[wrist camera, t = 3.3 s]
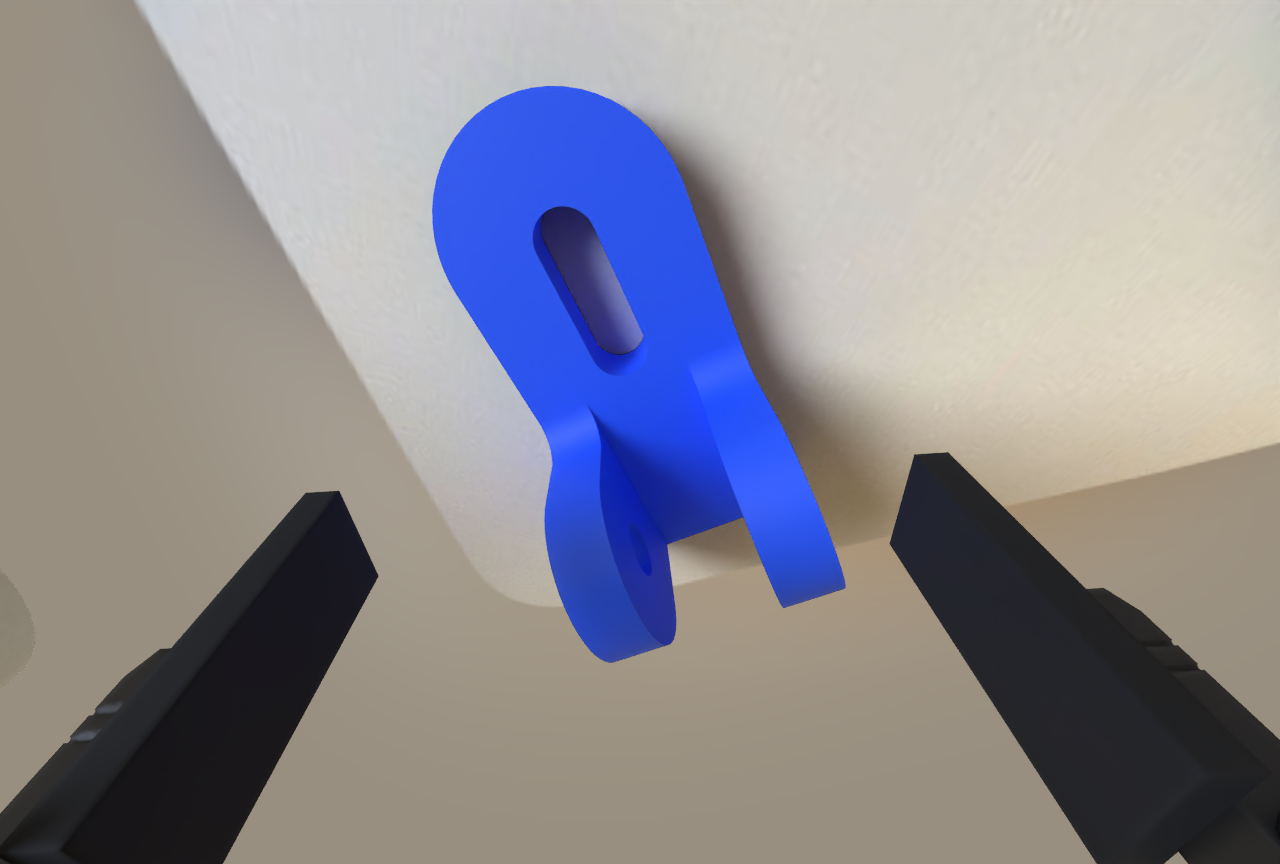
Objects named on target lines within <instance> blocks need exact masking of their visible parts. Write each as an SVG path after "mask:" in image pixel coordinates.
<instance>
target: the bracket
mask: <svg viewBox="0 0 1280 864" xmlns="http://www.w3.org/2000/svg"><path fill="white" fill-rule="evenodd" d="M559 206H566V207H571V208H574V209H576V210H578V211H580V212H582V213H583V214H584V215H585V216H586V217H587V218H588V219H589V220H590V222H591V223H592V225H593V227H594V229H595V231H596V233H597V236H598V238H599V240H600V242H601V244H602V246H603V248H604V251H605V253H606V255H607V257H608V259H609V261H610V264H611V266H612V268H613V270H614V272H615V274H616V277H617V279H618V281H619V283H620V285H621V287H622V290H623V292H624V294H625V296H626V298H627V300H628V303H629V305H630V307H631V309H632V311H633V313H634V315H635V318H636V320H637V322H638V324H639V326H640V328H641V331H642V333H643V335H644V337H643V340H642V342H641V343H640V345H639V346H638V347H637V348H636V349H635V350H633V351H631V352H629V353H627V354H622V355H616V354H611V353H608V352H606V351H604V350H603V349H602V348H601V347H600V346H599V345H598V344H597V343H596V341H595V339H594V337H593V335H592V333H591V331H590V329H589V327H588V325H587V324H586V322H585V320H584V318H583V316H582V314H581V312H580V310H579V308H578V306H577V304H576V302H575V301H574V299H573V297H572V295H571V293H570V291H569V289H568V287H567V285H566V283H565V281H564V279H563V277H562V276H561V274H560V272H559V270H558V268H557V266H556V264H555V262H554V260H553V258H552V256H551V254H550V252H549V251H548V249H547V247H546V245H545V243H544V241H543V238H542V235H541V219H542V216H543V214H544V212H546V211H547V210H549V209H551V208H554V207H559ZM432 214H433V230H434V238H435V243H436V247H437V251H438V255H439V258H440V261H441V264H442V267H443V269H444V272H445V274H446V276H447V278H448V280H449V282H450V284H451V286H452V287H453V289H454V291H455V293H456V294H457V296H458V297H459V299H460V301H461V302H462V304H463V305H464V307H465V308H466V310H467V311H468V313H469V315H470V316H471V318H472V319H473V321H474V322H475V324H476V325H477V327H478V329H479V330H480V332H481V333H482V335H483V336H484V338H485V339H486V341H487V343H488V344H489V346H490V347H491V349H492V350H493V352H494V353H495V355H496V356H497V358H498V360H499V361H500V363H501V364H502V366H503V367H504V369H505V370H506V372H507V374H508V375H509V377H510V378H511V380H512V381H513V383H514V384H515V386H516V388H517V389H518V391H519V392H520V394H521V395H522V397H523V398H524V400H525V401H526V403H527V405H528V406H529V408H530V409H531V411H532V412H533V414H534V415H535V417H536V419H537V420H538V422H539V423H540V425H541V427H542V429H543V430H544V433H545V435H546V437H547V440H548V442H549V445H550V449H551V453H552V461H553V466H552V472H551V478H550V483H549V489H548V494H547V500H546V506H545V535H546V543H547V550H548V555H549V560H550V565H551V569H552V573H553V576H554V580H555V583H556V586H557V589H558V592H559V595H560V597H561V600H562V602H563V605H564V607H565V609H566V612H567V614H568V616H569V618H570V620H571V622H572V624H573V626H574V628H575V629H576V631H577V633H578V635H579V636H580V637H581V639H582V640H583V642H584V643H585V645H586V646H587V647H588V648H589V649H590V651H591V652H592V653H593V654H594V655H596V656H597V657H598V658H600V659H601V660H603V661H606V662H609V663H613V662H616V661H619V660H622V659H626V658H629V657H632V656H635V655H638V654H641V653H644V652H647V651H650V650H654V649H656V648H660V647H663V646H666V645H669V644H671V643H672V641H673V640H674V636H675V632H676V610H675V601H674V594H673V586H672V578H671V571H670V563H669V555H668V547H667V544H669V543H672V542H675V541H678V540H680V539H683V538H686V537H689V536H692V535H694V534H697V533H700V532H703V531H706V530H709V529H711V528H714V527H717V526H720V525H723V524H725V523H728V522H731V521H734V520H737V519H739V518H742V517H744V519H745V522H746V524H747V527H748V529H749V532H750V534H751V537H752V539H753V542H754V544H755V547H756V549H757V552H758V554H759V556H760V559H761V561H762V564H763V566H764V568H765V571H766V573H767V575H768V578H769V580H770V582H771V584H772V587H773V589H774V591H775V593H776V596H777V598H778V600H779V602H780V604H781V606H782V607H783V608H786V607H788V606H792V605H795V604H798V603H801V602H804V601H807V600H811V599H814V598H817V597H820V596H823V595H826V594H830V593H832V592H836V591H839V590H842V589H845V580H844V576H843V573H842V569H841V566H840V563H839V560H838V557H837V554H836V551H835V548H834V546H833V543H832V540H831V537H830V535H829V532H828V530H827V527H826V524H825V522H824V519H823V517H822V514H821V512H820V509H819V507H818V504H817V502H816V500H815V497H814V495H813V492H812V490H811V488H810V485H809V483H808V481H807V478H806V476H805V474H804V472H803V469H802V467H801V465H800V463H799V461H798V458H797V456H796V454H795V452H794V450H793V448H792V445H791V443H790V441H789V439H788V437H787V435H786V433H785V431H784V429H783V427H782V425H781V423H780V421H779V419H778V418H777V416H776V414H775V412H774V410H773V409H772V407H771V405H770V403H769V402H768V400H767V398H766V396H765V395H764V393H763V391H762V389H761V388H760V386H759V384H758V382H757V380H756V378H755V376H754V374H753V372H752V370H751V367H750V365H749V363H748V360H747V358H746V355H745V353H744V350H743V348H742V345H741V343H740V340H739V337H738V334H737V331H736V329H735V326H734V323H733V320H732V317H731V315H730V312H729V309H728V306H727V303H726V301H725V298H724V295H723V292H722V289H721V287H720V284H719V281H718V278H717V275H716V273H715V270H714V267H713V264H712V261H711V259H710V256H709V253H708V250H707V247H706V245H705V242H704V239H703V236H702V233H701V231H700V228H699V225H698V222H697V219H696V217H695V214H694V211H693V208H692V205H691V202H690V200H689V197H688V194H687V191H686V188H685V186H684V183H683V180H682V178H681V176H680V173H679V171H678V168H677V167H676V165H675V163H674V161H673V159H672V157H671V156H670V154H669V152H668V151H667V150H666V148H665V147H664V145H663V144H662V142H661V141H660V140H659V139H658V137H657V136H656V135H655V134H654V133H653V132H652V130H651V129H650V128H649V127H648V126H646V125H645V124H644V123H643V122H642V121H641V120H640V119H639V118H638V117H636V116H635V115H634V114H632V113H631V112H630V111H628V110H627V109H626V108H624V107H622V106H621V105H619V104H617V103H615V102H614V101H612V100H610V99H608V98H605V97H603V96H600V95H598V94H596V93H592V92H589V91H585V90H582V89H577V88H570V87H563V86H545V87H535V88H529V89H525V90H521V91H517V92H515V93H512V94H510V95H507V96H504V97H502V98H500V99H498V100H497V101H495V102H493V103H491V104H489V105H488V106H487V107H485V108H484V109H483V110H481V111H480V112H479V113H477V114H476V115H475V116H474V117H473V118H472V119H471V120H470V121H469V122H468V123H467V124H466V125H465V126H464V127H463V128H462V130H461V131H460V132H459V133H458V135H457V136H456V137H455V139H454V140H453V142H452V144H451V145H450V147H449V149H448V150H447V153H446V155H445V157H444V159H443V162H442V164H441V167H440V170H439V173H438V176H437V179H436V185H435V190H434V196H433V208H432Z"/></svg>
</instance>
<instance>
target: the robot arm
mask: <svg viewBox="0 0 1280 864" xmlns="http://www.w3.org/2000/svg"><path fill="white" fill-rule="evenodd" d="M890 545H891V547H892V548H893V550H894V551H895V553H896V554H897V556H898V557H899V559H900V560H901V562H902V563H903V565H904V567H905V568H906V570H907V571H908V573H909V574H910V576H911V577H912V579H913V581H914V582H915V583H916V585H917V587H918V588H919V590H920V591H921V593H922V595H923V596H924V598H925V599H926V601H927V602H928V604H929V605H930V607H931V608H932V610H933V611H934V613H935V615H936V616H937V618H938V619H939V621H940V622H941V624H942V625H943V627H944V628H945V630H946V632H947V633H948V634H949V636H950V638H951V639H952V641H953V642H954V644H955V646H956V647H957V649H958V650H959V652H960V653H961V655H962V656H963V658H964V659H965V661H966V662H967V664H968V665H969V667H970V669H971V670H972V672H973V673H974V675H975V676H976V678H977V679H978V681H979V683H980V684H981V686H982V687H983V689H984V690H985V692H986V693H987V695H988V696H989V698H990V699H991V701H992V702H993V704H994V706H995V707H996V709H997V710H998V712H999V713H1000V715H1001V716H1002V718H1003V720H1004V721H1005V723H1006V724H1007V726H1008V727H1009V729H1010V730H1011V732H1012V734H1013V735H1014V737H1015V738H1016V740H1017V741H1018V743H1019V744H1020V746H1021V747H1022V749H1023V750H1024V752H1025V753H1026V755H1027V756H1028V758H1029V760H1030V761H1031V763H1032V764H1033V766H1034V768H1035V769H1036V771H1037V772H1038V773H1039V775H1040V777H1041V778H1042V780H1043V781H1044V783H1045V785H1046V786H1047V788H1048V789H1049V790H1050V792H1051V794H1052V795H1053V796H1054V798H1055V800H1056V801H1057V803H1058V805H1059V806H1060V808H1061V809H1062V811H1063V812H1064V814H1065V815H1066V817H1067V818H1068V820H1069V822H1070V823H1071V824H1072V826H1073V828H1074V829H1075V831H1076V832H1077V834H1078V835H1079V837H1080V839H1081V840H1082V842H1083V843H1084V845H1085V846H1086V848H1087V849H1088V851H1089V852H1090V854H1091V855H1092V857H1093V858H1094V860H1095V861H1096V863H1097V864H1164V863H1165V862H1166V861H1168V860H1169V859H1170V858H1171V857H1172V856H1173V855H1174V854H1176V853H1177V852H1178V851H1179V853H1180V854H1181V855H1182V856H1183V858H1184V859H1185V860H1186V861H1187V863H1188V864H1280V740H1279V739H1278V738H1277V737H1276V736H1275V735H1274V734H1273V733H1272V732H1271V731H1270V730H1269V729H1267V728H1266V727H1265V726H1264V725H1263V724H1262V723H1261V722H1260V721H1259V720H1258V719H1257V718H1255V716H1253V715H1252V714H1251V713H1250V712H1249V711H1248V710H1247V709H1246V708H1245V707H1244V706H1243V705H1242V704H1241V703H1239V702H1238V701H1237V700H1236V699H1235V698H1234V697H1233V696H1232V695H1231V694H1230V693H1229V692H1227V690H1225V689H1224V688H1223V687H1222V686H1221V685H1220V684H1219V683H1218V682H1217V681H1216V680H1215V679H1214V678H1212V677H1211V676H1210V675H1209V674H1208V673H1207V672H1206V671H1205V670H1200V669H1199V668H1198V666H1197V663H1196V662H1195V661H1194V660H1193V659H1192V658H1191V657H1190V656H1189V655H1188V654H1186V653H1185V652H1184V651H1183V650H1182V649H1181V648H1180V647H1179V646H1178V645H1177V646H1175V645H1173V644H1172V642H1171V640H1172V639H1170V638H1169V637H1168V636H1167V635H1166V634H1165V633H1164V632H1163V631H1162V630H1161V629H1160V628H1159V627H1157V626H1156V625H1155V624H1154V623H1153V622H1152V621H1151V620H1150V619H1149V618H1148V617H1147V616H1146V615H1144V613H1142V612H1141V611H1140V610H1138V609H1137V608H1135V607H1133V606H1132V605H1130V604H1129V603H1127V602H1125V601H1124V600H1122V599H1121V598H1119V597H1117V596H1115V595H1114V594H1112V593H1111V592H1109V591H1108V590H1106V589H1104V588H1097V589H1085V587H1083V586H1082V584H1080V583H1079V582H1078V581H1077V580H1076V579H1075V578H1074V577H1073V576H1072V575H1071V574H1070V573H1069V572H1068V571H1067V570H1066V569H1065V568H1064V567H1063V566H1062V565H1061V564H1060V563H1059V562H1058V561H1057V560H1056V559H1055V558H1054V557H1053V556H1052V555H1051V554H1050V553H1049V552H1048V551H1047V550H1046V549H1045V548H1044V547H1043V546H1042V545H1041V544H1040V543H1039V542H1038V541H1037V540H1036V539H1035V538H1034V537H1033V536H1032V535H1031V534H1030V533H1029V532H1028V531H1027V530H1026V529H1025V528H1024V527H1023V526H1022V525H1021V524H1020V523H1019V522H1018V521H1017V520H1016V519H1015V518H1014V517H1013V516H1012V515H1011V514H1010V513H1009V512H1008V511H1007V510H1006V509H1005V508H1004V507H1003V506H1002V505H1001V504H1000V503H999V502H998V501H997V500H996V499H995V498H994V497H993V496H992V495H991V494H990V493H989V492H988V491H987V490H985V489H984V488H983V487H982V486H981V485H980V484H979V483H978V482H977V481H976V480H975V479H974V478H973V477H972V476H971V475H970V474H969V473H968V472H967V471H966V470H965V469H964V468H963V467H962V466H961V465H960V464H959V463H958V462H957V461H956V460H955V459H954V458H953V457H952V456H951V455H950V454H949V453H948V452H947V453H932V454H916V455H914V458H913V462H912V465H911V469H910V472H909V476H908V480H907V483H906V487H905V490H904V494H903V498H902V501H901V505H900V508H899V512H898V516H897V519H896V523H895V526H894V530H893V534H892V537H891V541H890ZM377 578H378V574H377V572H376V570H375V567H374V565H373V563H372V561H371V559H370V556H369V554H368V552H367V550H366V548H365V546H364V543H363V541H362V539H361V537H360V535H359V533H358V531H357V528H356V526H355V524H354V522H353V520H352V518H351V515H350V513H349V511H348V509H347V507H346V505H345V502H344V500H343V498H342V496H341V494H340V492H339V491H329V492H314V493H305V495H304V496H303V497H302V498H301V499H300V500H299V501H298V502H297V504H296V505H295V506H294V507H293V508H292V509H291V510H290V512H289V513H288V514H287V515H286V516H285V517H284V519H283V520H282V521H281V522H280V523H279V524H278V525H277V527H276V528H275V529H274V530H273V531H272V532H271V534H270V535H269V536H268V537H267V538H266V539H265V541H264V542H263V543H262V544H261V545H260V546H259V548H258V549H257V550H256V551H255V552H254V553H253V554H252V556H251V557H250V558H249V559H248V560H247V561H246V562H245V564H244V565H243V566H242V567H241V568H240V569H239V571H238V572H237V573H236V574H235V575H234V576H233V578H232V579H231V580H230V581H229V582H228V583H227V585H226V586H225V587H224V588H223V589H222V590H221V591H220V593H219V594H218V595H217V596H216V597H215V598H214V600H213V601H212V602H211V603H210V604H209V606H207V608H206V609H205V610H204V611H203V612H202V613H201V615H200V616H199V617H198V618H197V619H196V621H194V623H193V624H192V625H191V626H190V627H189V629H188V630H187V631H186V632H185V633H184V634H183V635H182V636H181V638H180V639H179V640H178V641H177V642H176V643H175V644H174V646H173V647H172V648H169V649H160V650H159V651H157V652H156V653H155V654H153V655H152V656H151V657H149V658H148V659H147V660H145V661H144V662H143V663H142V664H140V665H139V666H138V667H136V668H135V669H134V670H133V671H131V672H130V673H129V674H127V675H126V676H125V677H124V678H123V679H122V680H121V681H120V682H119V683H118V684H117V685H116V687H115V688H114V689H113V690H112V691H111V692H110V693H109V694H108V695H107V696H106V698H105V699H104V700H103V701H102V702H101V703H100V704H99V705H98V706H97V707H96V709H95V710H96V711H95V714H94V715H91V716H88V717H87V718H86V720H85V721H84V722H83V723H82V724H81V725H80V726H79V727H78V728H77V730H76V731H75V732H74V733H73V734H72V735H71V736H70V737H71V740H70V741H69V742H68V743H65V744H63V745H62V746H61V747H60V748H59V750H58V751H57V752H56V753H55V754H54V755H53V756H52V757H51V758H50V759H49V760H48V762H47V763H46V764H45V765H44V766H43V767H42V768H41V769H40V770H39V771H38V773H37V774H36V775H35V776H34V777H33V778H32V779H31V780H30V781H29V782H28V784H27V785H26V786H25V787H24V788H23V789H22V790H21V791H20V793H19V794H18V795H17V796H16V797H15V798H14V799H13V800H12V801H11V802H10V803H9V805H8V806H7V807H6V808H5V809H4V810H3V811H2V812H1V813H0V864H223V862H224V860H225V859H226V857H227V855H228V853H229V851H230V849H231V847H232V846H233V844H234V842H235V840H236V838H237V836H238V835H239V833H240V831H241V829H242V827H243V825H244V823H245V822H246V820H247V818H248V816H249V814H250V812H251V811H252V809H253V807H254V805H255V803H256V801H257V800H258V797H259V796H260V794H261V792H262V790H263V788H264V787H265V785H266V783H267V781H268V779H269V777H270V776H271V774H272V772H273V770H274V768H275V766H276V764H277V762H278V761H279V759H280V757H281V755H282V753H283V751H284V750H285V748H286V746H287V744H288V742H289V740H290V738H291V737H292V735H293V733H294V731H295V729H296V727H297V726H298V724H299V722H300V720H301V718H302V716H303V715H304V713H305V711H306V709H307V707H308V705H309V703H310V702H311V700H312V698H313V696H314V694H315V692H316V690H317V689H318V687H319V685H320V683H321V681H322V679H323V678H324V676H325V674H326V672H327V670H328V668H329V667H330V665H331V663H332V661H333V659H334V657H335V656H336V654H337V652H338V650H339V648H340V646H341V644H342V643H343V641H344V639H345V637H346V635H347V633H348V632H349V630H350V628H351V626H352V624H353V622H354V620H355V619H356V617H357V615H358V613H359V611H360V609H361V607H362V606H363V604H364V602H365V600H366V598H367V596H368V595H369V593H370V591H371V589H372V587H373V585H374V584H375V582H376V580H377Z"/></svg>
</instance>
